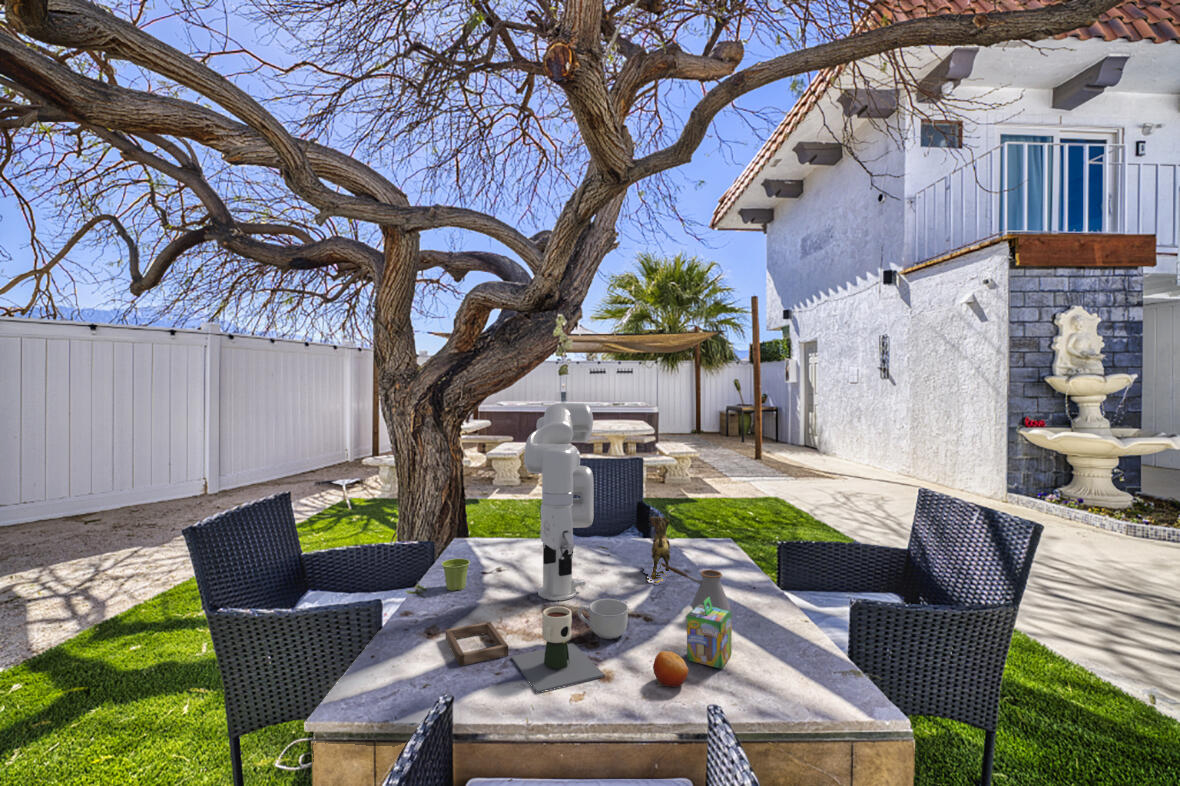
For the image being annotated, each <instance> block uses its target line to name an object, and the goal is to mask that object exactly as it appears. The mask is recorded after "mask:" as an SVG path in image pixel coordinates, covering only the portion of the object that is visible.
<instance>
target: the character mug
mask: <svg viewBox="0 0 1180 786" xmlns="http://www.w3.org/2000/svg"><path fill="white" fill-rule="evenodd" d="M572 616H573V615H572V610H571V609H569V608H567V607H565V606H551V607H547V608H545V609H543V611H542V620H541V621H542V624H541V625H542V631H541V632H542V633H541V635H542V638H543V640H544V641H546V644H545V657H544V664H545V665H546V666H549V667H552V668H555V669H561V668H564V667H567V666H568V665H567V660H569V652H568V644H569V643H568V641H570V640H571V638H572V635H573V634H572V633H573V632H572V623H573V618H572ZM569 664H570V663H569Z"/></svg>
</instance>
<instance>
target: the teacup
mask: <svg viewBox="0 0 1180 786" xmlns="http://www.w3.org/2000/svg"><path fill="white" fill-rule="evenodd" d="M583 610H585V611H587V613H588V615H589V619H588V618H586V617H585V616H584V615H583V614H582V611H583ZM628 612H629V606H628V604H627V603H625V602H624V601H622V600H618V599H616V598H615V599H614V598H602V599H601V598H600V599H596V600H594V601H592V602H591V603H590V604H589V605H586V604H583V605H580V606H579V608H578V610H577V616H578V617H579V619H580V620H581V621H582V622H584V623H585V624H587V626H588V627H590V628H591V630H592V632H593V634H595V635H597V637H599V638H601V639H604V638H605V639H606V640H613V639H612V638H614V639H617V638H619V637H621V635H623V634H624V633H625V631H626V630H627V628H628V619H629V613H628ZM605 639H604V640H605Z"/></svg>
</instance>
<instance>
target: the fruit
mask: <svg viewBox="0 0 1180 786" xmlns="http://www.w3.org/2000/svg"><path fill="white" fill-rule="evenodd" d="M652 666H653V667H652V669H653V674H654V676H655V678H656V682H657V687H658V688H660V686H665V687H669V688H679V687H681V686H682V685H683V684H684V682H685V680H686V679H687V678H688V673H689V671H690V670H689V667H688V666H687V664H686V662H685V660H684V658H682V657H681V656H680V655H679V654H677V653H674V652H673V651H671V650H669V651H667V650H665V651H660V652H659V653H657V654H656V656H655V658H654V662H653V665H652Z"/></svg>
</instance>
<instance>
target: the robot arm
mask: <svg viewBox="0 0 1180 786" xmlns="http://www.w3.org/2000/svg"><path fill="white" fill-rule="evenodd" d="M593 425H594V416H593V412H592V409H591V407H590V406H589V405H588V404H585V403H574V402H573V403H572V402H569V403H565V402H562V403H561V402H560V403H559V402H558V403H554V404H551V405H549V406H548V407H546V409H545V411H544V415H543V416H542V417H539V418H538V419H537V421H536V430H535V431H533V432H532V433H530V435H529V436H528V437H527V439H526V442H525V447H524V448H525V449H524V454H523V455H524V456H523V462H524V467H525V469H526V471H528V472H529V473H531V474H541V476H542V477H541V478H542V479H541V485H542V486H541V506H540V537H539V538H540V541H541V542H542V587H540V588H539V589H538V590H537V594H538V597H540V598H541V599H543V600H546V599H547V600H546V601H555V602H556V601H558V600H559V601H566V600H569V599H573V598H574V597H575V596H576V595H577V588H578V587H583V586H586V581H585V579H579V578H574V579H573V578H572V577H573V573H572V572H573V571H572V570H573V569H572V568H573V558H574V557H573V556H574V548H575V542H574V539H573V538H574V533H573V532H574V531H573V529H574V528H575V529H576V528H577V529H579V528H580V529H581V528H582V529H583V528H589V527H591V526H592V524H593V521H594V509H595V507H594V505H595V504H594V503H595V502H594V501H595V499H594V498H595V496H594V495H595V493H594V492H595V491H594V490H595V489H594V488H595V485H594V473H593V471H592V469H591V468H590V467H588V466H587V465H581V452H580V450H578V448H577V447H576V446H575V445H573V444H570V443H587V442H588V441H590V439H591V436H592V433H593ZM574 495H575V496H579V497H580V498H579V497H577V498H574Z"/></svg>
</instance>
